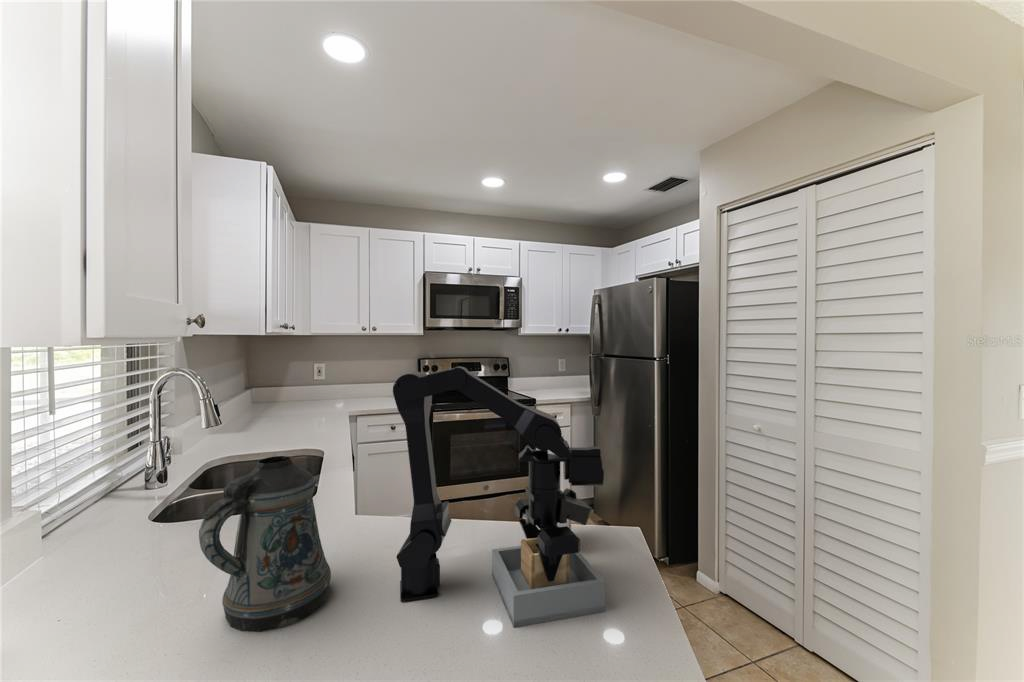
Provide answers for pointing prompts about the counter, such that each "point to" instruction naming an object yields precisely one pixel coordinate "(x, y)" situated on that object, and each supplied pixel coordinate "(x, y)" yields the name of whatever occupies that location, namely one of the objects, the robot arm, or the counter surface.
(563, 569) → the oak crate
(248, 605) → the beer stein
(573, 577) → the slate gray crate
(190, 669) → the counter surface
